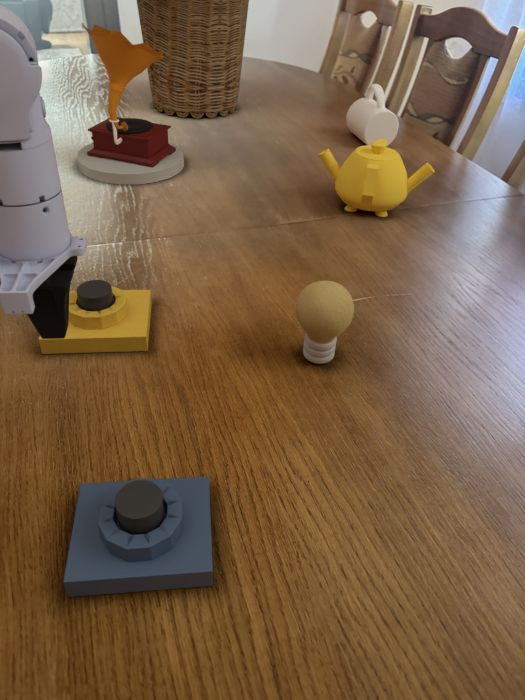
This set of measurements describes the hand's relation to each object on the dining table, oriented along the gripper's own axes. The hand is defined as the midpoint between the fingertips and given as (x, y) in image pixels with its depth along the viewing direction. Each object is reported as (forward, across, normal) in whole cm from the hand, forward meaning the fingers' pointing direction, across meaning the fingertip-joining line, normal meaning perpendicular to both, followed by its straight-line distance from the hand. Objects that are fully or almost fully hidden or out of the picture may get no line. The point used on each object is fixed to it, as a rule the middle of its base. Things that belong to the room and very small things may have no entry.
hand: (54, 334), depth 51 cm
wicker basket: (+11, +109, -14) cm, 110 cm away
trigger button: (+7, +15, -1) cm, 17 cm away
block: (+10, -15, -8) cm, 20 cm away
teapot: (+11, +50, -44) cm, 67 cm away
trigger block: (+10, +15, -1) cm, 18 cm away
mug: (+11, +84, -53) cm, 100 cm away
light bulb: (+11, +8, -27) cm, 30 cm away
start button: (+7, -15, -8) cm, 18 cm away
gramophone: (+11, +69, -1) cm, 70 cm away
